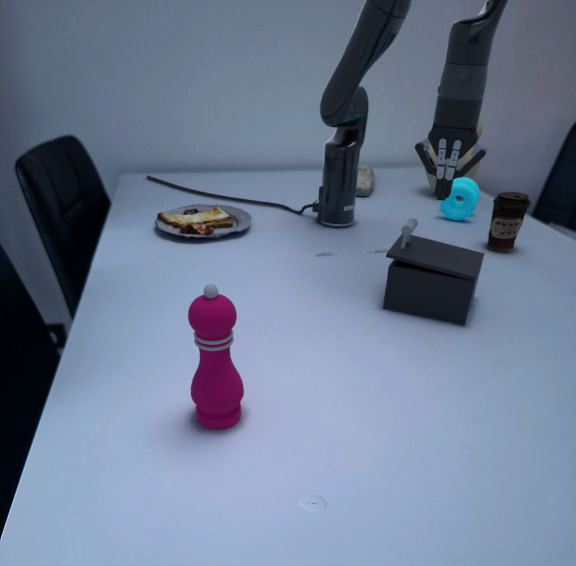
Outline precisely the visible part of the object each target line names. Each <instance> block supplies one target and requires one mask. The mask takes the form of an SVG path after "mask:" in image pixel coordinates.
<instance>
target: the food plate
mask: <svg viewBox="0 0 576 566" xmlns="http://www.w3.org/2000/svg"><path fill="white" fill-rule="evenodd" d="M156 215H157V216H156V219H155V221H154V225H155V227H156V228H157V229H158V231H160V232H163V233H167V234H170V235H172V236H173V237H182V239H184V237H185V238H187V239H188V238H191V237H193V238H194V239H198V238H205V239H214V238H215V239H218V238H220V237H223V236H227V235H229V234H230V233H231V234H232V233H234V232H242V231H244V230H245V229H248V228H249V227H250V226H251V222H252V220H253V218H252V215H251V214H250V213H249V212H248V211H247V210H245V209H243V208H239V207H235V206H233V205H228V204H220V203H219V204H216V203H213V204H206V203H197V204H189V205H185V206H180V207H176V208H172V209H169V210H167V211H163V212H162V211H159V212H158V213H157V214H156Z"/></svg>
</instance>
